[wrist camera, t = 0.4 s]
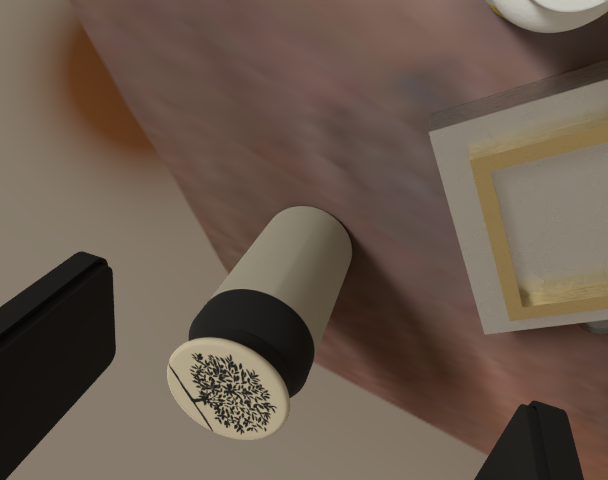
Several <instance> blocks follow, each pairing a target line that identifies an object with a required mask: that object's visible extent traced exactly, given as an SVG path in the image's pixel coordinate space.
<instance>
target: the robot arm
mask: <svg viewBox="0 0 608 480" xmlns="http://www.w3.org/2000/svg"><path fill="white" fill-rule="evenodd" d="M113 298H114V296H113V273H112V269H111V268H110V267H108V263H107V261H106V259H104V258H101V257H98V256H95V255H91V254H89V253H86V252H78V253H76V254H74V255H73V256H71V257H70V258H69V259H67V260H66V261H64V262H63V263H62V264H60V265H59V266H57V267H56V268H55V269H53V270H52V271H50V272H49V273H48V274H46V275H45V276H43V277H42V278H41V279H39V280H38V281H36V282H35V283H33V284H32V285H31V286H29V287H28V288H26V289H25V290H24V291H22V292H21V293H20V294H18V295H17V296H15V297H14V298H12V299H11V300H10V301H8V302H7V303H5V304H4V305H3V306H1V307H0V480H6V479H7V477H8V476H9V475H10V474H11V473H12V472H13V471H14V470H15V469H16V468H17V467H18V465H19V464H20V463H21V462H22V461H23V460H24V459H25V458H26V457H27V456H28V454H29V453H30V452H31V451H32V450H33V449H34V448H35V447H36V446H37V445H38V443H39V442H40V441H41V440H42V439H43V438H44V437H45V436H46V435H47V433H48V432H49V431H50V430H51V429H52V428H53V427H54V426H55V424H57V422H58V421H59V420H60V419H61V418H62V417H63V416H64V415H65V414H66V413H67V411H68V410H69V409H70V408H71V407H72V406H73V405H74V404H75V403H76V402H77V400H78V399H79V398H80V397H81V396H82V395H83V394H84V393H85V392H86V390H87V389H88V388H89V387H90V386H91V385H92V384H93V383H94V382H95V381H96V379H97V378H98V377H99V376H100V375H101V374H102V373H103V372H104V371H105V369H106V368H107V367H108V366H109V365H110V363H111V362H112V360H113V358H114V356H115V351H116V345H115V320H114V299H113ZM474 480H584V478H583V474H582V470H581V466H580V462H579V459H578V455H577V451H576V447H575V443H574V439H573V435H572V431H571V427H570V423H569V420H568V416H567V414H566V412H565V411H564V410H562V409H559V408H556V407H553V406H550V405H547V404H544V403H541V402H538V401H532V402H531V403H530V404H529V405H528V406H527V405H524V404H521V405H520V406H519V407H518V409H517V410H516V412H515V414H514V415H513V417H512V419H511V420H510V422H509V423H508V425H507V427H506V428H505V430H504V432H503V433H502V435H501V437H500V438H499V440H498V441H497V443H496V445H495V446H494V448H493V450H492V451H491V453H490V455H489V456H488V458H487V460H486V461H485V463H484V464H483V466H482V468H481V470H480V471H479V473H478V474H477V476H476V478H475V479H474Z"/></svg>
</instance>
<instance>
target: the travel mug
mask: <svg viewBox="0 0 608 480" xmlns="http://www.w3.org/2000/svg"><path fill="white" fill-rule="evenodd" d="M351 258H352V245H351V241H350V238H349V236H348V234H347V232H346V230H345V229H344V227H343V226H342V225H341V224H340V223H339V222H338V221H337V220H336V219H335V218H334V217H333V216H331V215H330V214H328V213H326V212H324V211H322V210H320V209H317V208H313V207H307V206H297V207H291V208H288V209H285V210H283V211H281V212H280V213H278V214H277V215H276V216H275V217H274V218H273V219H272V220H271V221H270V223H269V224H268V225H267V227H266V228H265V229H264V230H263V232H262V233H261V234H260V235H259V237H258V238H257V239H256V241H255V242H254V243H253V244H252V246H251V247H250V248H249V250H248V251H247V252H246V253H245V255H244V256H243V257H242V259H241V260H240V261H239V262H238V264H237V265H236V266H235V268H234V269H233V270H232V271H231V273H230V274H229V275H228V277H227V278H226V279H225V281H224V282H223V283H222V284H221V286H220V287H219V288H218V289H217V291H216V292H215V293H214V295H213V296H212V297H211V298H210V300H209V301H208V302H207V304H206V305H205V306H204V307H203V309H202V310H201V311H200V313H199V314H198V315H197V316H196V318H195V319H194V321H193V322H192V325H191V327H190V331H189V341H188V342H186V343H184V344H182V345H181V346H180V347H179V348H178V349H176V350H175V352H174V353H173V354H172V356H171V358H170V360H169V363H168V367H167V379H168V384H169V387H170V390H171V392H172V394H173V396H174V398H175V399H176V401H177V402H178V404H179V405H180V406H181V408H182V409H183V410H184V411H185V412H186V413H187V414H188V415H189V416H190V417H191V418H193V419H194V420H195V421H196V422H198V423H199V424H200V425H202V426H204V427H205V428H207V429H209V430H211V431H213V432H215V433H217V434H220V435H223V436H226V437H230V438H234V439H240V440H256V439H261V438H265V437H267V436H270V435H272V434H274V433H275V432H277V431H278V430H279V429H280V428H281V427H282V426H283V425H284V423H285V421H286V420H287V418H288V415H289V411H290V399H289V398H291V397H292V396H294V395H295V394H297V393H298V392H299V391H300V390H301V388H302V387H303V386H304V384H305V382H306V379H307V376H308V374H309V371H310V369H311V366H312V363H313V361H314V358H315V355H316V353H317V350H318V347H319V345H320V342H321V340H322V337H323V334H324V332H325V329H326V326H327V324H328V321H329V318H330V316H331V313H332V310H333V308H334V305H335V302H336V300H337V297H338V294H339V292H340V289H341V286H342V284H343V281H344V278H345V276H346V273H347V270H348V268H349V265H350V262H351Z"/></svg>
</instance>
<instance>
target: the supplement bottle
mask: <svg viewBox="0 0 608 480" xmlns="http://www.w3.org/2000/svg"><path fill="white" fill-rule="evenodd" d="M485 1H486V3H487V4H488V5H489V6H490V8H491V9H492V10H493V11H494V12H496V13H497V14H498V15H500V16H501V17H503V18H505V19H506V20H508V21H510V22H512V23H513V24H515V25H517V26H519V27H521V28H524V29H527V30H530V31H534V32H540V33H557V32H564V31H568V30H572V29H576V28H578V27H581V26H583V25H585V24H588V23H590V22H592V21H593V20H595V19H597V18H599V17H600V16H602V15H603V14H605V13H606V12H608V0H485Z"/></svg>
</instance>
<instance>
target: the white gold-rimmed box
mask: <svg viewBox="0 0 608 480" xmlns="http://www.w3.org/2000/svg"><path fill="white" fill-rule="evenodd" d="M429 135H430V139H431V142H432V146H433V150H434V153H435V157H436V160H437V164H438V168H439V171H440V175H441V178H442V182H443V186H444V189H445V193H446V197H447V200H448V204H449V207H450V211H451V215H452V218H453V222H454V225H455V229H456V233H457V236H458V240H459V243H460V247H461V251H462V254H463V258H464V262H465V265H466V269H467V272H468V276H469V280H470V283H471V287H472V290H473V294H474V298H475V301H476V305H477V309H478V312H479V316H480V319H481V323H482V327H483V330H484V334H493V333H501V332H510V331H518V330H526V329H534V328H543V327H551V326H559V325H568V324H576V323H579V325H580V326H581V328H582V329H584V330H586V331H588V332H591V333H595V334H608V59H607V60H604V61H601V62H598V63H595V64H591V65H588V66H585V67H582V68H578V69H575V70H572V71H569V72H565V73H562V74H559V75H556V76H553V77H549V78H546V79H543V80H540V81H536V82H533V83H530V84H527V85H523V86H520V87H517V88H514V89H511V90H507V91H504V92H501V93H498V94H494V95H491V96H488V97H485V98H481V99H478V100H475V101H472V102H469V103H465V104H462V105H459V106H456V107H452V108H449V109H446V110H443V111H439V112H436V113H433V114H432V117H431V122H430V128H429Z"/></svg>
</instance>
